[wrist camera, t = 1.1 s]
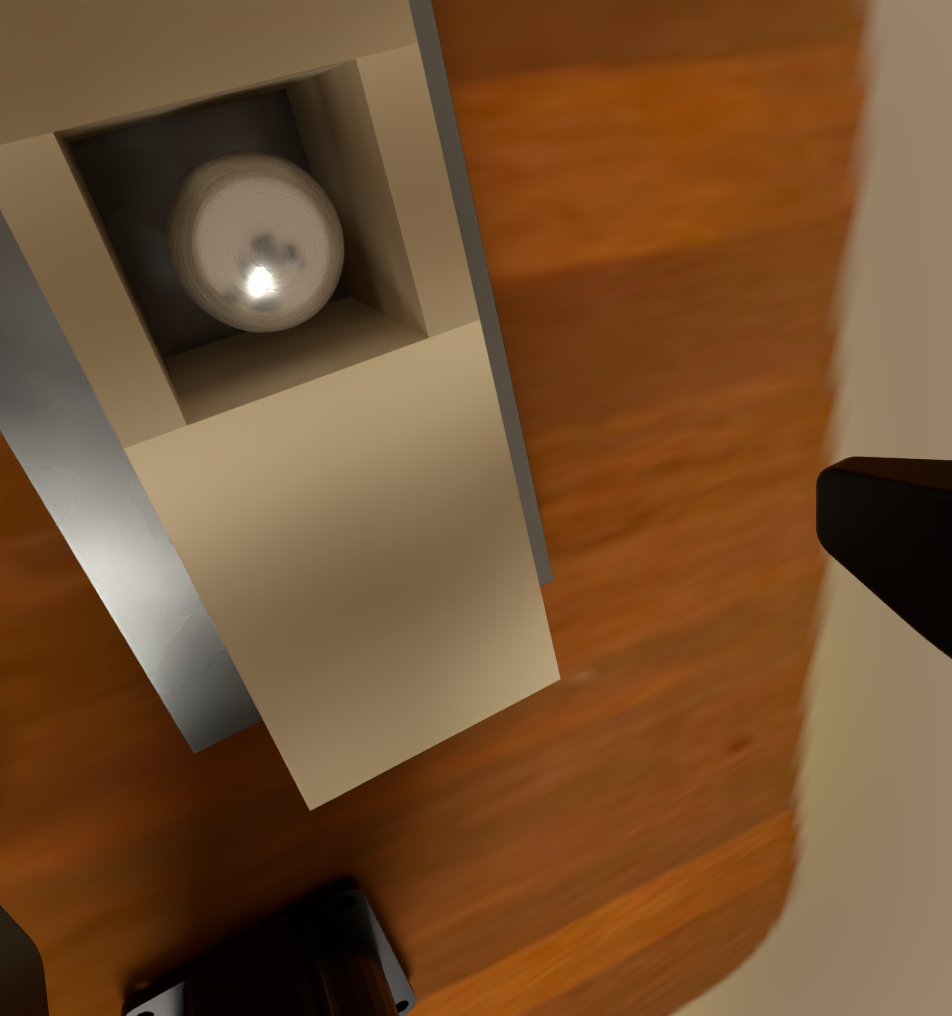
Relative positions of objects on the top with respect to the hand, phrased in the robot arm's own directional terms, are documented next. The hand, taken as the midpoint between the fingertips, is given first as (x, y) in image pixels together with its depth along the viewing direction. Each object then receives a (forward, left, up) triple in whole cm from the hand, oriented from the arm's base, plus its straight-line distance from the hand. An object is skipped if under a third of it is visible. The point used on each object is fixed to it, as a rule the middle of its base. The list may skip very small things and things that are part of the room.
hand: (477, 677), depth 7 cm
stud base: (+2, 0, -9) cm, 9 cm away
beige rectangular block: (+1, 0, -8) cm, 8 cm away
